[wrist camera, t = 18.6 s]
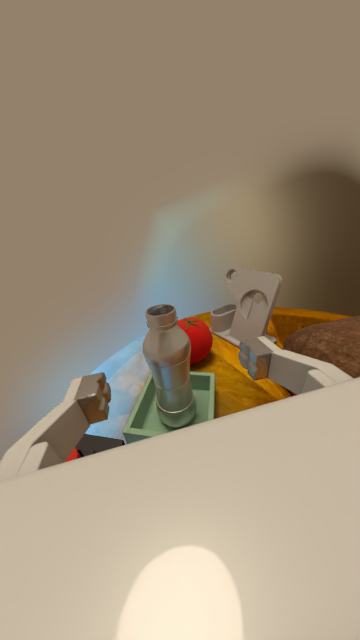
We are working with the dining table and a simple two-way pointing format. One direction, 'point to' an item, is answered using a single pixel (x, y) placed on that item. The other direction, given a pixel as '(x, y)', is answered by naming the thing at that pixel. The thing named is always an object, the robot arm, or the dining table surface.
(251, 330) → the phone holder
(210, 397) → the tray
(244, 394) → the dining table surface
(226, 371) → the dining table surface
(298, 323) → the dining table surface
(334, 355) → the bread
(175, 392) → the metal bottle
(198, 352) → the tomato
